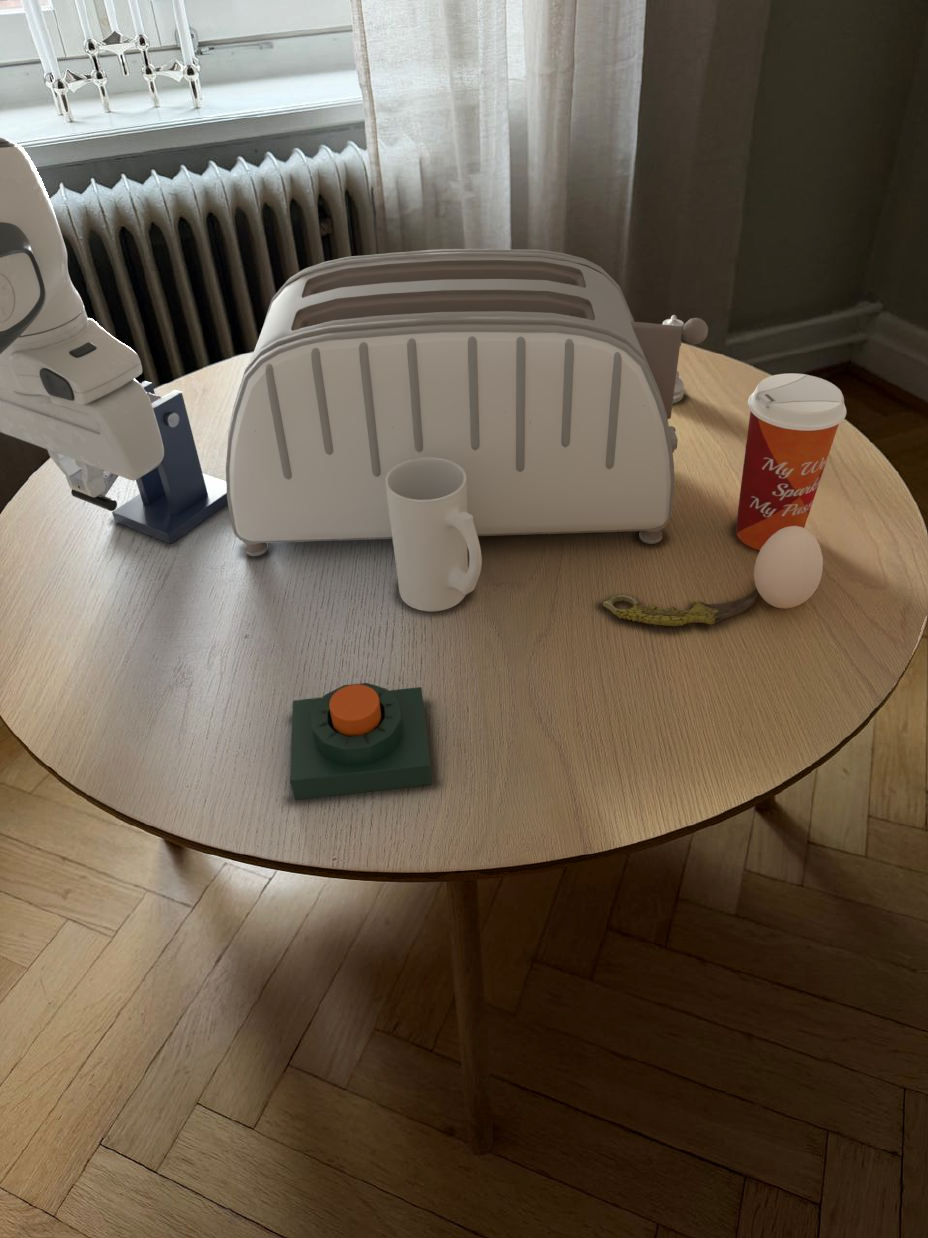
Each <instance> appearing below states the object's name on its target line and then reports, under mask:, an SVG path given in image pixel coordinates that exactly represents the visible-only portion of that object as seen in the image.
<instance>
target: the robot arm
mask: <svg viewBox="0 0 928 1238" xmlns="http://www.w3.org/2000/svg"><path fill="white" fill-rule="evenodd" d="M46 190H47V189H46V188H45V186H44V183H43V181H42V178H41V176H40V175H39V172H38V171H37V168H36V166H35V164H34V162H33V161H32V160H31V157H30V156H29V155H28V153H27V151H25V149H24V147H22V146H21V145H20V144H17V143H16V142H14V141H12V140H10V139H7V138H4V137H0V433H2V434H4V435H7V436H10V437H13V438H15V439H17V440H21V441H23V442H26V443H29V444H31V445H34V446H36V447H39V448H42V449H44V450H46V451H47V452H48V455H49V458H50V459H52V461H53V462H54V463H55V465H56V466H57V467H58V468H59V470H60V471H61V472H62V473H63V474H64V476H65V479H66V481H67V483H68V486H69V489H71V490H72V489H73V490H76V491H78V492H81V493H84V494H86V495H88V496H91V497H97V496H98V495H100V494H102V493H103V492H104V491H105V490H106V485H105V482H104V479H103V476H102V474H103V470H105V471H107V472H110V473H113V474H115V475H118V477H121V478H124V479H127V480H129V481H136V480H137V479H139V478H141V477H142V476H144V475H146V474H147V473H149V472H150V471H152V470H153V469H155V468H156V467H158V466H159V465H160V463H161V462H162V459H163V457H164V447H163V443H162V438H161V434H160V431H159V427H158V423H157V420H156V416H155V413H154V410H153V407H152V404H151V401H150V399H149V397H148V395H147V393H146V391H145V389H144V388H143V387H142V385H141V384H140V383H141V382H139V381H138V380H137V379H136V378H138V377H139V376H140V375H142V374H143V365H142V361H141V358H140V357H139V354H138V353H137V352H136V351H135V350H134V349H132V348H131V347H130V346H128V345H126V344H125V343H123V342H122V341H120V340H119V339H117V338H116V337H114V335H112V334H110V333H109V332H107V331H106V330H105V329H104V328H103V327H102V326H101V325H99V323H98V322H97V321H95V320H94V319H93V318H90V317H88V315H87V311H86V309H85V308H86V307H85V305H84V302H83V300H82V297H81V295H80V293H79V292H78V290H77V289H76V287H75V286H74V284H73V281H72V280H71V276H70V274H69V268H68V250H67V247H66V244H65V241H64V240H65V239H64V238H63V237H64V236H63V234H62V231H61V227H60V224H59V222H58V219H57V215H56V214H55V210H54V208H53V205H52V203H51V200H50V198H49V195H48V192H47V191H46Z"/></svg>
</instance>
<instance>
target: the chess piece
mask: <svg viewBox="0 0 928 1238" xmlns="http://www.w3.org/2000/svg"><path fill="white" fill-rule="evenodd" d="M662 324H663V325H674V326H681V327H682V328H683V327H684V324H685V323H684V321H682V320H681V319H678V317H677V315H675V314H673V315H671V317H670V318H667V319H665V320H663V321H662ZM681 346H682V341H681V342H680V347H681ZM684 389H685V384H684V381H683V380H682V379H681V378H680V372H679V371H678V370H677V373H676V381H675V389H674V397H673V404H676V403H678V402H680V401H682V399H683V398H684V395H685V394H684V393H685V391H684Z"/></svg>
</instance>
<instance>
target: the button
mask: <svg viewBox="0 0 928 1238" xmlns="http://www.w3.org/2000/svg"><path fill="white" fill-rule="evenodd" d="M348 685H349V686H346V687H343V688H341V689H340V690H338V691H337V692H336V693H334V695H333V696H332V698H331V700H330V703H329V707H330V713H331V718H332V723H333V726H334V728H335V729H336V730H337V731H338V732H340V733H341V734H344V735H347V736H361V735H365V734H367V733H369V732H371V731H373V730H374V729H375V728H376V727H377V726H378V724H379V723H380V720H381V710H380V702H379V697H378V695H377V693H376V692H375V691H374V690H373V689H372V688H370V687H368V686H365V685H350V684H348Z"/></svg>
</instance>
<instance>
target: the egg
mask: <svg viewBox="0 0 928 1238" xmlns="http://www.w3.org/2000/svg"><path fill="white" fill-rule="evenodd" d="M823 565H824V558H823V553H822V549H821V546H820V544H819V542H818V539H817V538H816V536H815V535H814V534H813V533H812V532H811V531H810V530H808V529H807V528H805V527H804V528H803V527H799V526H789V527H785V528H783V529H780V530H779V531H777V532H776V533H775V534H773V535H772V536H771V537H770V538H769V539H768V540H767V542H766V543H765V544H764V545H763V546H762V548H761V550H759V552H758V553H757V556H756V559H755V563H754V567H753V581H754V585H755V588H757V590H758V592H759V596H760V597H761V598H762V599H763V600H764V602H766V603H767V604H768V605H770V606H772V607H775V608H778V609H791V608H795V607H798V606H801V605H802V604H804V603H805V602H807V600H809V599H810V598H811V597H812V596H813V594H814V593H815V592H816V591H817V589H818V587H819V585H820V582H821V580H822V576H823V569H824V568H823V567H824V566H823Z"/></svg>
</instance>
